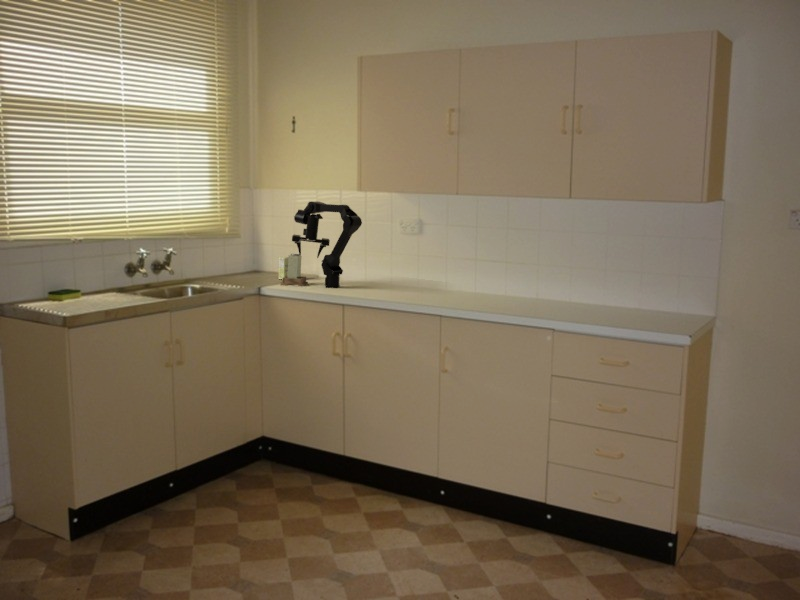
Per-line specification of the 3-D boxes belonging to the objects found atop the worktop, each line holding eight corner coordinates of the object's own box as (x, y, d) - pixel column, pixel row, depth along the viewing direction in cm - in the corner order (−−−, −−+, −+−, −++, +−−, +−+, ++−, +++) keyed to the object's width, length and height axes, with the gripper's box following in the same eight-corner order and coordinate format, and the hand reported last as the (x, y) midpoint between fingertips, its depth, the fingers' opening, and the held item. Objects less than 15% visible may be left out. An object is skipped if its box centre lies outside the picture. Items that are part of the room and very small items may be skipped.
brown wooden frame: (307, 283, 409) (308, 276, 409) (304, 286, 400) (304, 279, 399) (284, 282, 410) (284, 275, 410) (280, 285, 400) (280, 278, 400)
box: (295, 278, 428) (295, 256, 427) (300, 279, 424) (301, 257, 422) (278, 279, 422) (278, 257, 420) (283, 280, 418) (284, 258, 416)
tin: (300, 281, 407) (301, 254, 406) (296, 281, 402) (297, 254, 401) (290, 281, 408) (292, 253, 407) (287, 281, 403) (288, 253, 402)
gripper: (330, 226, 412) (327, 256, 416) (294, 221, 410) (291, 251, 413) (331, 229, 401) (327, 260, 405) (293, 224, 399) (290, 255, 403)
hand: (308, 256), depth 407 cm, fingers open, 8 cm apart
